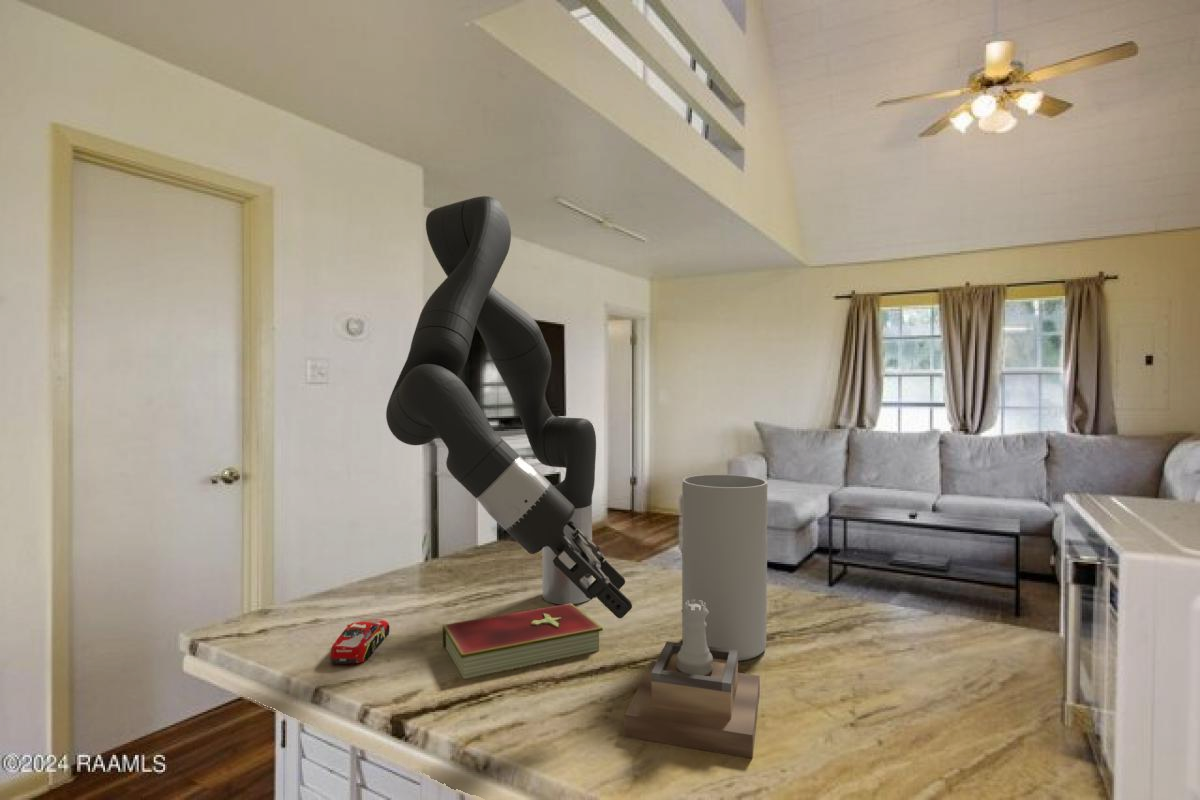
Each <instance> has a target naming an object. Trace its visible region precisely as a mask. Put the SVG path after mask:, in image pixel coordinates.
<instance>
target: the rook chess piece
mask: <svg viewBox="0 0 1200 800" xmlns="http://www.w3.org/2000/svg"><path fill="white" fill-rule="evenodd" d="M680 611H681V614H682V613H683V615H684V616H685V621H684V622H683V624H684V626H685V634H684V641H683V640H682V643H683V645H682V646H681V648H680V649H681V650H680V651H679V652H678V654H677V659H678V662H677V663H676V665H677V668H678V669H679V671H680V672H681V673H688V674H695V675H703V676H707V675H708V674H710V673H711V671H712V670H713V668H714V666H713V664H712V662H713V657H712V654H711V653H710V652H709V651H710V650H709V648H708V647H707V642H706V635H705V627H706V626H707V624H706V622H705V618H706V616H707V615H708V613H709V611H708V610H707V608H706V603H703V601H700V600H699V601H698V604H695V600H691V604H689V601H688V600H687V601H685V603H684V607H683V609H682V608H681V610H680Z"/></svg>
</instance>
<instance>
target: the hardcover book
mask: <svg viewBox="0 0 1200 800" xmlns="http://www.w3.org/2000/svg"><path fill="white" fill-rule="evenodd" d="M603 629H604V628H603V627H602V626H601V625H600V624H598V623H597V622H596V621H595V620H593V619H592V618H591V617H589V616H588V615H587V614H586V613H585V612H583V611H582V610H581V609H580V608H578V607H577V606H576V605H575V604H572V603H570V604H558V605H554V606H548V607H541V608H536V609H530V610H529V609H528V610H524V611H518V612H511V613H505V614H500V615H494V616H488V617H483V618H482V617H481V618H476V619H471V620H470V619H469V620H466V621H460V622H453V623H448V624H443V625H442V648H443V649H446V650H447V652H448V654H449V656H450V657H451V659H452V662H453V663H454V665H455V666H456V668H457V669H458V671H459V673H460V675H461V677H462V679H463V680H467V679H471V678H476V677H481V676H486V675H491V674H494V673H493V672H496V673H499V672H498V671H500V672H503V671H502V670H505V671H508V670H507V669H510V670H513V669H512V668H515V669H518V668H517V667H519V668H521V667H520V666H524V667H527V666H526V665H529V666H532V665H531V664H534V665H536V664H535V663H538V664H540V663H539V662H543V663H545V662H544V661H548V662H551V661H550V660H553V661H556V660H555V659H557V660H562V659H565V658H564V657H567V658H571V657H570V656H572V657H576V656H580V655H585V654H590V653H594V652H599V651H600V632H602V631H603ZM575 655H576V656H575ZM561 658H562V659H561ZM490 673H491V674H490ZM485 674H486V675H485ZM480 675H481V676H480Z"/></svg>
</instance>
